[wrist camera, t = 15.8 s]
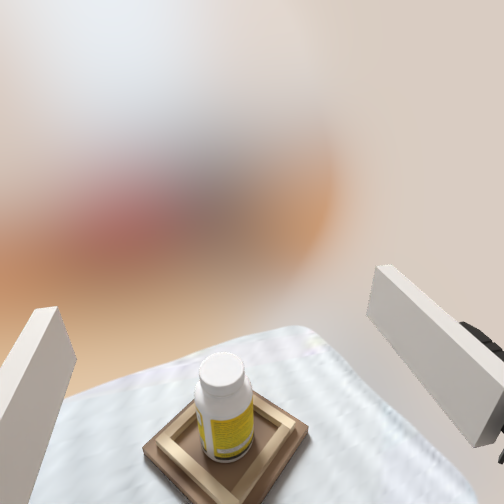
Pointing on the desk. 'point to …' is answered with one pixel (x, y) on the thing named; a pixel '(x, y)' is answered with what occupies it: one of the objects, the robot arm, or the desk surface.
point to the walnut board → (234, 473)
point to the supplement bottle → (224, 408)
